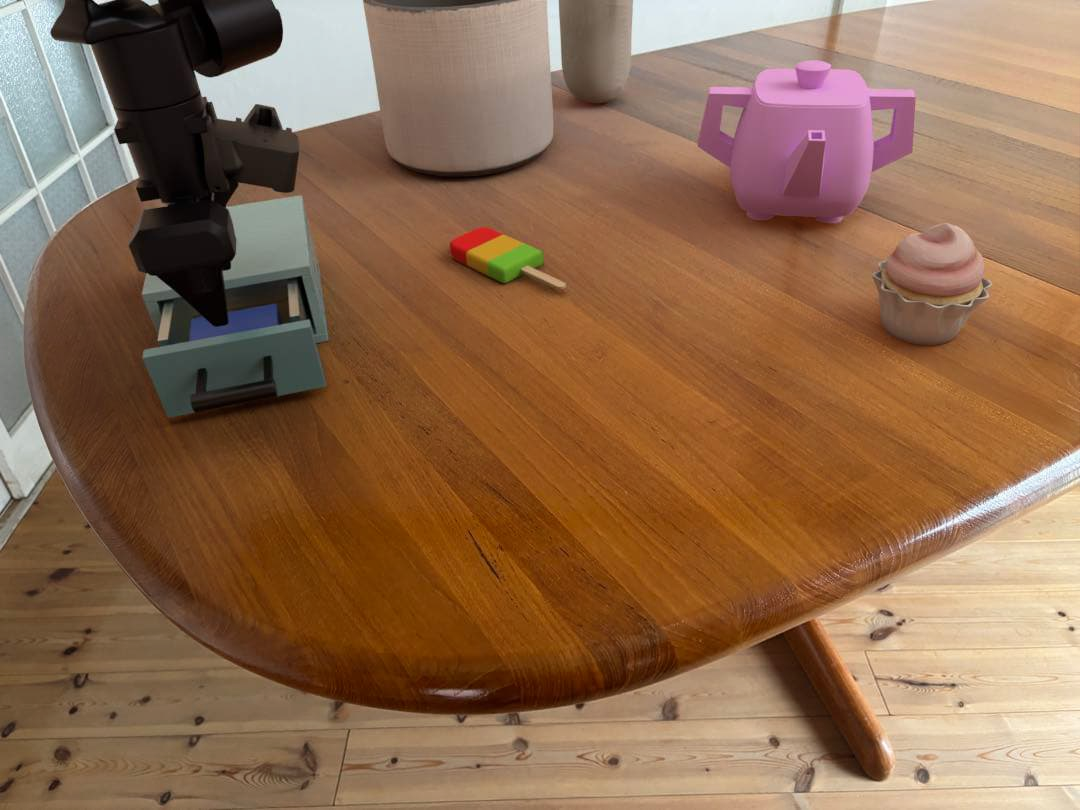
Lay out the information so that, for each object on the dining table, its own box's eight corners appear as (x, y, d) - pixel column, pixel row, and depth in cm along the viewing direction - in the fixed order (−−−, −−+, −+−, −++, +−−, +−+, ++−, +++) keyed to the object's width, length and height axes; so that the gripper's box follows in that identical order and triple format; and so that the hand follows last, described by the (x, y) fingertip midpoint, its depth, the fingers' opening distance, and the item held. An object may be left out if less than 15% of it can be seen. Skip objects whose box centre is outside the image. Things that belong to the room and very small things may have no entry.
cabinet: (328, 341, 75) (309, 265, 70) (172, 370, 73) (141, 294, 68) (318, 263, 87) (301, 194, 83) (183, 287, 85) (158, 217, 80)
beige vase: (550, 101, 125) (541, -114, 108) (601, 86, 130) (600, -123, 113) (591, 116, 119) (588, -110, 102) (643, 100, 124) (649, -119, 106)
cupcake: (842, 331, 72) (864, 226, 66) (891, 289, 77) (916, 188, 71) (949, 371, 67) (983, 261, 60) (994, 323, 72) (1030, 217, 66)
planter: (584, 157, 107) (581, -12, 94) (421, 197, 100) (394, 19, 87) (512, 110, 123) (501, -40, 111) (367, 141, 116) (338, -15, 104)
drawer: (330, 422, 64) (313, 360, 60) (162, 457, 62) (134, 394, 58) (316, 301, 79) (302, 246, 75) (180, 326, 77) (159, 270, 73)
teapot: (799, 256, 83) (824, 105, 74) (676, 200, 95) (683, 64, 86) (916, 203, 91) (951, 61, 82) (789, 158, 103) (807, 30, 94)
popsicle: (485, 239, 90) (483, 223, 89) (584, 284, 81) (583, 267, 80) (446, 257, 87) (443, 241, 86) (543, 306, 78) (542, 289, 77)
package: (288, 366, 68) (278, 330, 66) (202, 384, 67) (188, 347, 65) (286, 338, 72) (276, 302, 70) (204, 354, 71) (190, 318, 68)
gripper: (280, 123, 50) (333, 337, 60) (274, 48, 65) (318, 230, 74) (87, 151, 48) (174, 367, 58) (125, 67, 63) (190, 251, 72)
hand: (223, 295), depth 66 cm, fingers open, 9 cm apart
